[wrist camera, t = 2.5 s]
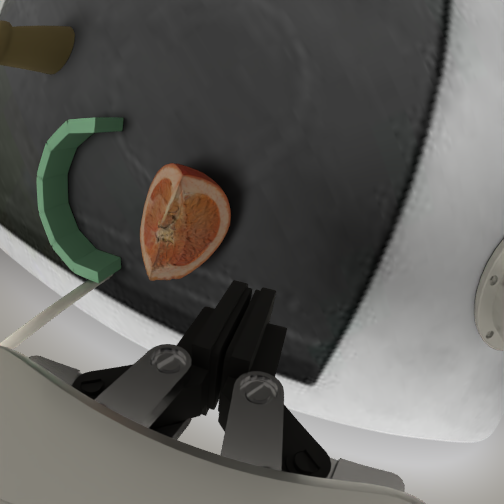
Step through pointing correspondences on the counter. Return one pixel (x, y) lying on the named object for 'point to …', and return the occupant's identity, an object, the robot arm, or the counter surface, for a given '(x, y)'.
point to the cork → (35, 47)
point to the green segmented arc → (67, 219)
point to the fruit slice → (182, 221)
